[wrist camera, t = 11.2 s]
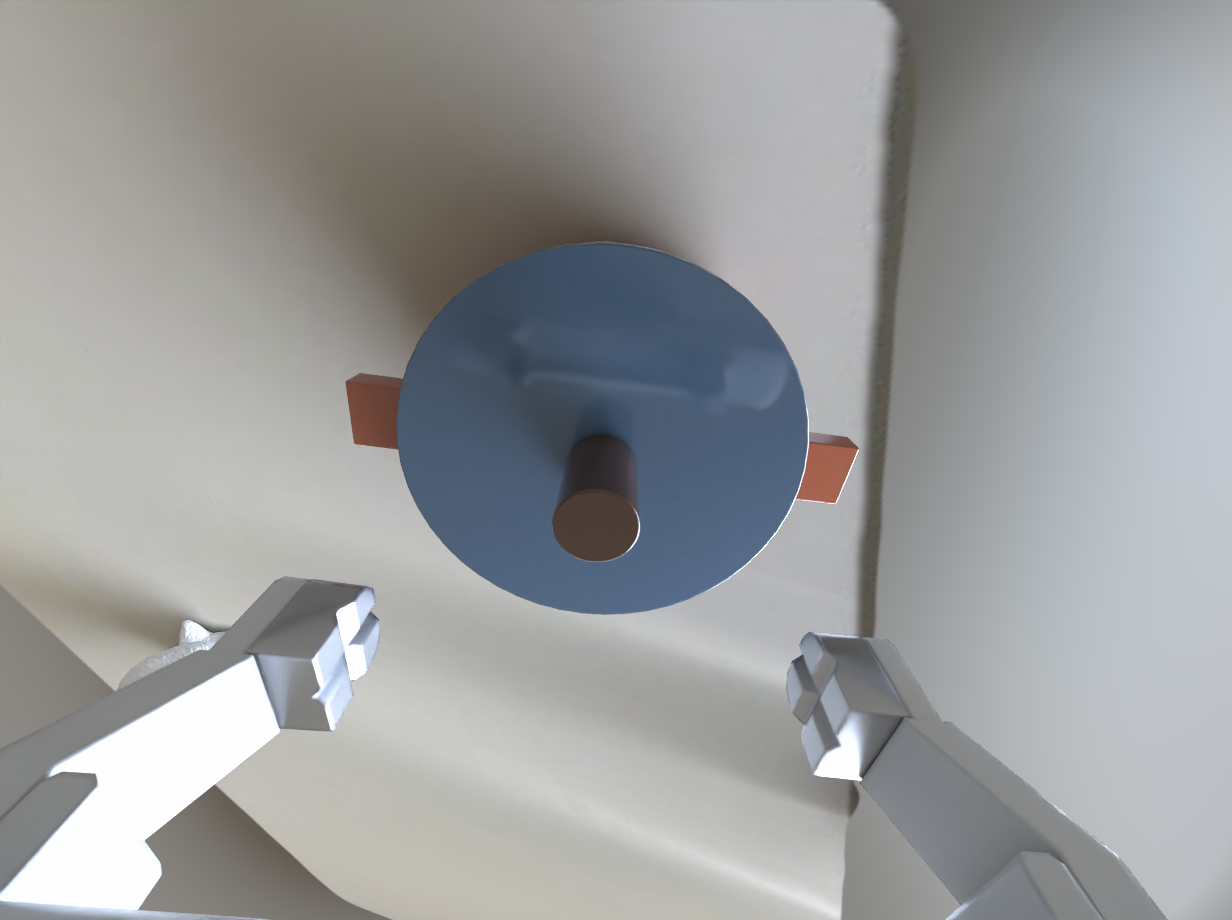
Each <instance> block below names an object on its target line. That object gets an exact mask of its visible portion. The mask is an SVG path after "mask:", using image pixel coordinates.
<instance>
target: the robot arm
mask: <svg viewBox="0 0 1232 920" xmlns="http://www.w3.org/2000/svg"><path fill="white" fill-rule="evenodd" d="M375 603H376V600H375V595H374V590H373V588H371V587H368V586H361V585H353V584H346V583H338V582H330V581H323V580H315V579H313V580H311V579H303V578H296V577H288V576H284V577H282V578H280V579H278V580H276V581H274V582H273V583H272V584H271V585H270V586H269V588H268V589H267V590H266V591H265V592H264V593H263V594H262V595H261V596H260V597H259V598H258V599H257V600H256V601H255V602H254V603H253V604H252V605H251V606H250V608H249V609H248V610H247V611H246V612H245V613H244V614H243V615H242V616H241V617H240V618H239V619H238V620H237V621H236V622H235V623H234V624H233V625H232V627H231V628H230V629H229V630H228V631H227V632H226V633H225V634H224V635H223V636H222V637H221V638H220V639H219V640H218V641H217V642H216V643H215V644H214V645H213V647H212V648H211V649H210V650H197V651H195V652H193V653H191V654H189V655H187V656H185V657H183V658H181V659H179V660H177V661H175V662H173V663H171V664H169V665H167V666H165V667H163V668H161V669H159V670H157V671H155V672H153V673H151V674H149V675H147V676H145V677H143V678H141V679H139V680H137V681H135V682H133V683H131V684H129V685H127V686H125V687H123V688H121V689H119V690H117V691H115V692H113V693H111V694H109V695H107V696H105V697H103V698H101V699H99V700H97V701H95V702H93V703H92V704H90V705H87V706H85V707H83V708H81V709H79V710H77V711H75V712H74V713H71V714H69V715H67V716H65V717H63V718H61V719H59V720H57V721H55V722H53V723H51V724H49V725H47V726H45V727H43V728H41V729H39V730H37V731H35V732H33V733H31V734H29V735H27V736H25V737H23V738H21V739H19V740H17V741H16V742H13V743H11V744H9V745H7V746H5V747H3V748H1V749H0V920H271V919H258V918H243V917H229V916H215V915H201V914H186V913H172V912H157V911H142V910H138V908H139V907H140V906H141V904H142V903H143V901H144V900H145V898H146V897H147V895H148V894H149V892H150V891H151V889H152V888H153V887H154V885H155V884H156V882H157V881H158V879H159V878H160V876H161V864H160V862H159V861H158V859H157V858H156V856H155V855H154V854H153V852H152V851H151V849H150V848H149V847H148V845H147V844H146V842H145V841H144V840H145V839H146V838H148V837H149V836H150V835H151V834H153V833H154V832H155V831H156V830H158V829H159V828H160V827H161V826H163V825H164V824H165V823H166V822H168V821H169V820H170V819H171V818H172V817H174V816H175V815H176V814H178V813H179V812H180V811H181V810H183V809H184V808H185V807H186V806H188V805H189V804H190V803H191V802H193V801H194V800H195V799H196V798H198V797H199V796H200V795H201V794H203V793H204V792H205V791H206V790H208V789H209V788H210V787H211V786H213V785H214V784H215V783H216V782H218V781H219V780H220V779H221V778H223V777H224V776H225V775H226V774H228V773H229V772H230V771H231V770H233V769H234V768H235V767H236V766H238V765H239V764H240V763H241V762H243V761H244V760H245V759H246V758H248V757H249V756H250V755H251V754H253V753H254V752H255V751H256V750H258V749H259V748H260V747H261V746H263V745H264V744H265V743H266V742H268V741H269V740H270V739H271V738H273V737H274V736H275V735H276V734H278V733H279V732H280V729H279V728H281V729H298V730H314V731H331V732H333V730H334V729H335V727H336V725H337V723H338V722H339V720H340V718H341V716H342V714H343V713H344V711H345V709H346V707H347V706H348V704H349V702H350V700H351V698H352V697H353V690H352V685H351V682H353V681H354V680H355V679H357V678H358V677H360V676H361V675H363V674H364V673H366V672H367V670H368V668H369V666H370V664H371V662H372V660H373V658H374V656H375V652H376V649H377V646H378V643H379V635H380V625H379V619H378V618H377V617H376V616H375V615H374V614H373V613H372V612H371V609H372V607H373V606H374V604H375ZM799 646H800V649H801V651H802V654H803V655H801V656H800V657H798V658H796V659H795V660H793V661H792V663H791V665H790V668H789V670H788V673H787V685H786V689H787V695H788V701H789V704H790V707H791V710H792V713H793V714H794V715H795V716H796V717H797V718H798V719H799V720H800V721H801V722H802V724H803V725H804V728H803V731H802V734H801V740H802V743H803V746H804V749H805V752H806V755H807V758H808V760H809V763H810V766H811V769H812V772H813V775H820V776H828V777H837V778H845V779H853V780H861V782H860V784H861V785H862V786H863V787H864V789H865V790H866V791H867V792H868V793H869V795H870V796H871V797H872V798H873V799H874V801H875V802H876V803H877V804H878V805H879V807H880V808H881V809H882V810H883V811H884V813H885V814H886V815H887V816H888V818H889V819H890V820H891V821H892V822H893V824H894V825H895V826H896V827H897V828H898V830H899V831H900V832H901V833H902V834H903V836H904V837H905V838H906V839H907V840H908V842H909V843H910V844H911V845H912V846H913V848H914V849H915V850H916V851H917V852H918V854H919V855H920V856H921V857H922V859H923V860H924V861H925V862H926V863H927V865H928V866H929V867H930V868H931V870H932V871H933V872H934V873H935V874H936V876H937V877H938V878H939V879H940V880H941V882H942V883H943V884H944V885H945V886H946V888H947V889H948V890H949V891H950V892H951V894H952V895H953V896H954V897H955V899H956V900H957V901H958V902H959V903H960V905H961V906H960V907H959V908H958V909H957V910H955V911H954V912H953V913H952V914H951V915H950V916H949V917H948V918H946V919H945V920H1167V919H1166V917H1165V916H1164V914H1163V913H1162V912H1161V910H1160V909H1159V908H1158V907H1157V905H1156V904H1155V903H1154V901H1153V900H1152V899H1151V897H1150V896H1149V895H1148V893H1147V892H1146V891H1145V889H1144V888H1143V887H1142V886H1141V884H1140V883H1139V882H1138V880H1137V879H1136V878H1135V876H1134V875H1133V874H1132V872H1131V871H1130V870H1129V869H1128V867H1127V866H1126V865H1125V863H1124V862H1123V861H1122V860H1121V858H1120V857H1119V856H1118V855H1117V854H1115V853H1114V852H1113V851H1111V850H1110V849H1109V848H1108V847H1107V846H1105V845H1104V844H1103V843H1102V842H1100V841H1099V840H1098V839H1096V838H1095V837H1094V836H1093V835H1091V834H1090V833H1089V832H1088V831H1086V830H1085V829H1084V828H1083V827H1081V826H1080V825H1079V824H1078V823H1076V822H1075V821H1074V820H1073V819H1071V818H1070V817H1069V816H1068V815H1066V814H1065V813H1064V812H1063V811H1061V810H1060V809H1059V808H1058V807H1056V806H1055V805H1054V804H1052V803H1051V802H1050V801H1049V800H1048V799H1046V798H1045V797H1044V796H1043V795H1041V794H1040V793H1039V792H1038V791H1036V790H1035V789H1034V788H1033V787H1031V786H1030V785H1029V784H1028V783H1026V782H1025V781H1024V780H1023V779H1021V778H1020V777H1019V776H1017V775H1016V774H1015V773H1014V772H1013V771H1011V770H1010V769H1009V768H1008V767H1006V766H1005V765H1004V764H1002V763H1001V762H1000V761H999V760H997V759H996V758H995V757H994V756H992V755H991V754H990V753H989V752H988V751H986V750H985V749H984V748H983V747H981V746H980V745H979V744H977V743H976V742H975V741H973V739H971V738H970V737H969V736H967V735H966V734H965V733H964V732H963V731H961V730H960V729H959V728H957V727H956V726H955V725H954V724H953V723H951V722H945V721H942V720H941V718H940V716H939V715H938V713H937V712H936V710H935V709H934V707H933V705H932V704H931V702H930V701H929V699H928V697H927V696H926V694H925V693H924V691H923V689H922V688H921V686H920V685H919V683H918V682H917V680H916V678H915V677H914V675H913V674H912V672H911V670H910V669H909V667H908V666H907V664H906V663H905V661H904V659H903V658H902V656H901V655H900V653H899V652H898V650H897V648H896V647H895V645H894V644H892V643H891V642H890V641H889V640H887V639H876V638H866V637H857V636H846V635H835V634H825V633H814V632H809V633H807V634H806V635H805V636H804V637H803V639H802V641H801V643H800V645H799Z"/></svg>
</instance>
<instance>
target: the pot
mask: <svg viewBox="0 0 1232 920" xmlns="http://www.w3.org/2000/svg"><path fill="white" fill-rule="evenodd" d="M595 242H610V241H603V240H601V241H595ZM610 243H617V242H610ZM623 244H626V243H623ZM642 247H644V246H642ZM647 248H650V247H647ZM651 249H656V248H651ZM656 250H659V249H656ZM402 381H403V379H401V378H394V377H386V376H378V375H371V374H363V373H359V374H357V375H356V376H354V377H352V378H351V379H349V380H347V381H346V389H347V396H348V403H349V410H350V417H351V424H352V431H353V439H354V444H359V445H367V446H375V447H383V448H391V449H398V444H397V408H398V400H399V392H400V388H401V384H402ZM858 450H859V448H858V447H857V446H856V445H855V444H854V443H853V442H852V441H851V440H850V439H849V438H848V437H842V436H834V435H827V434H819V433H811V432H809V446H808V453H807V460H806V467H805V471H804V474H803V478H802V481H801V485H800V488H799V491H798V494H797V496H796V498H795V499H798V500H806V501H814V502H822V503H830V504H836V503H837V500H838V498H839V496H840V493H841V491H842V489H843V486H844V484H845V481H846V479H847V477H848V474H849V472H850V469H851V467H852V465H853V462H854V460H855V458H856V455H857V453H858Z"/></svg>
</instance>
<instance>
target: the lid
mask: <svg viewBox="0 0 1232 920" xmlns="http://www.w3.org/2000/svg"><path fill="white" fill-rule="evenodd" d="M397 444H398V450H399V456H400V462H401V466H402V469H403V472H404V476H405V479H406V482H407V485H408V488H409V490H410V492H411V494H412V496H413V499H414V501H415V503H416V505H417V507H418V509H419V511H420V512H421V514H422V515H423V517H424V519H425V520H426V522H427V523H428V525H429V526H430V528H431V529H432V530H433V532H434V533H435V534H436V535H437V536H438V538H439V539H440V540H441V541H442V543H443V544H444V545H445V546H446V547H447V548H448V549H449V550H450V551H451V552H452V553H453V554H454V555H455V556H456V557H457V558H458V559H459V560H460V561H461V562H463V563H464V564H465V565H467V566H468V567H469V568H470V569H472V570H473V571H474V572H476V573H477V574H478V575H480V576H481V577H483V578H484V579H486V580H488V581H489V582H491V583H493V584H494V585H496V586H497V587H499V588H501V589H503V590H505V591H508V592H510V593H512V594H514V595H516V596H518V597H521V598H523V599H526V600H529V601H531V602H534V603H537V604H540V605H544V606H548V607H551V608H555V609H559V610H565V611H571V612H577V613H586V614H602V615H607V614H629V613H636V612H644V611H650V610H654V609H659V608H663V607H667V606H671V605H674V604H677V603H679V602H682V601H685V600H688V599H691V598H693V597H695V596H697V595H700V594H702V593H704V592H706V591H708V590H710V589H712V588H714V587H715V586H717V585H719V584H720V583H722V582H724V581H725V580H727V579H729V578H730V577H731V576H733V575H734V574H735V573H737V572H738V571H739V570H741V569H742V568H743V567H744V566H746V565H747V564H748V563H749V562H750V561H751V560H752V559H753V558H754V557H755V556H756V555H757V554H758V553H759V552H761V551H762V550H763V548H764V547H765V546H766V545H767V544H768V542H769V541H770V540H771V539H772V537H773V536H774V535H775V534H776V532H777V531H778V529H779V528H780V526H781V525H782V523H783V521H784V520H785V518H786V517H787V515H788V513H789V511H790V509H791V507H792V505H793V503H794V500H795V498H796V496H797V494H798V491H799V488H800V485H801V481H802V478H803V474H804V471H805V467H806V460H807V453H808V446H809V418H808V412H807V406H806V399H805V393H804V390H803V387H802V384H801V381H800V378H799V375H798V371H797V368H796V366H795V364H794V362H793V360H792V358H791V356H790V354H789V352H788V350H787V348H786V346H785V344H784V342H783V341H782V340H781V338H780V337H779V335H778V334H777V333H776V331H775V330H774V328H773V327H772V325H771V324H770V323H769V321H768V320H767V319H766V318H765V317H764V316H763V315H762V314H761V313H760V311H759V310H758V309H757V308H756V307H755V306H754V305H753V304H752V303H751V302H750V301H749V300H748V299H747V298H746V297H745V296H743V295H742V294H741V293H739V292H738V291H737V290H735V289H734V288H733V287H732V286H730V285H729V284H728V283H726V282H725V281H724V280H722V279H721V278H719V277H718V276H716V275H714V274H712V273H710V272H709V271H707V270H705V269H703V268H702V267H700V266H698V265H696V264H694V263H693V262H690V261H687V260H685V259H682V258H680V257H677V256H674V255H672V254H669V253H666V252H664V251H660V250H656V249H651V248H647V247H642V246H638V245H633V244H623V243H610V242H589V243H574V244H565V245H561V246H556V247H552V248H547V249H542V250H538V251H535V252H532V253H530V254H527V255H524V256H522V257H519V258H516V259H514V260H511V261H508V262H506V263H504V264H502V265H500V266H498V267H497V268H495V269H493V270H491V271H489V272H488V273H486V274H484V275H482V276H480V277H479V278H477V279H476V280H475V281H473V282H472V283H471V284H469V285H468V286H467V287H466V288H464V289H463V290H462V291H460V292H459V293H458V294H457V295H455V296H454V297H453V298H452V299H451V300H450V301H449V302H448V303H447V305H446V306H445V307H444V308H443V309H442V310H441V311H440V312H439V313H438V314H437V315H436V316H435V317H434V319H433V320H432V322H431V323H430V325H429V326H428V328H427V329H426V331H425V332H424V333H423V335H422V336H421V338H420V339H419V341H418V343H417V345H416V347H415V349H414V351H413V354H412V356H411V358H410V360H409V362H408V364H407V367H406V371H405V374H404V377H403V381H402V384H401V388H400V392H399V400H398V408H397Z"/></svg>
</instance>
